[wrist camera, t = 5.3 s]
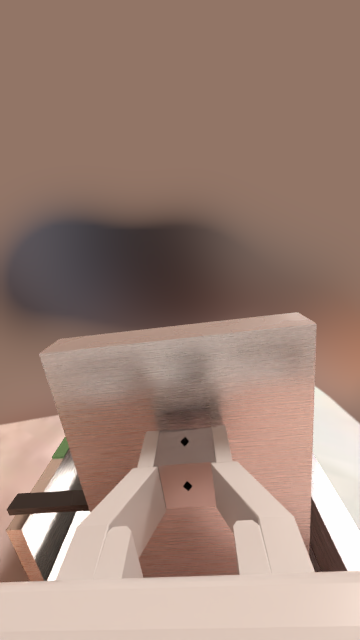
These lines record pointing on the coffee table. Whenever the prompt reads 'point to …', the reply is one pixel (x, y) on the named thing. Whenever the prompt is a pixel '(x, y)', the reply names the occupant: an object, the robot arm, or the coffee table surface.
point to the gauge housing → (58, 528)
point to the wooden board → (187, 421)
